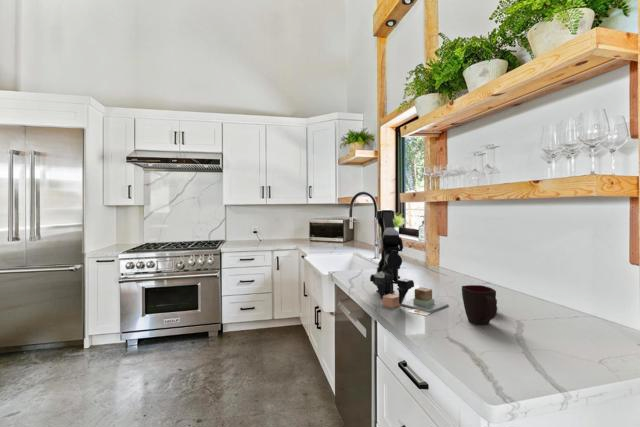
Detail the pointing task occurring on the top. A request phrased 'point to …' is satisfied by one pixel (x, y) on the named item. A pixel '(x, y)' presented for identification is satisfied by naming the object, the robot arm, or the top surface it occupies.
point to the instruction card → (419, 312)
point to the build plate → (428, 309)
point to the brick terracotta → (391, 300)
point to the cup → (479, 304)
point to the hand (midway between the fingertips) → (391, 301)
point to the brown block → (423, 294)
